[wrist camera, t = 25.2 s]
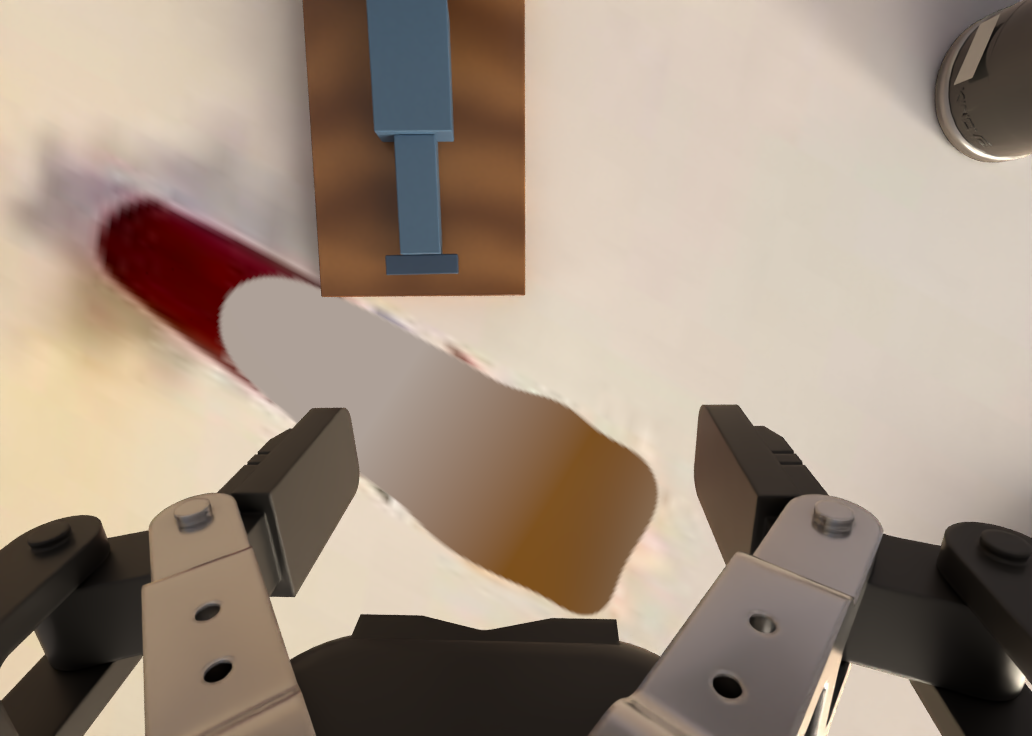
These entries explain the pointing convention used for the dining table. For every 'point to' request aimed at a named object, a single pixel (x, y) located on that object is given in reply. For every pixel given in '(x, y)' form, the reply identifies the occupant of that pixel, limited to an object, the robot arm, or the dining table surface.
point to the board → (462, 163)
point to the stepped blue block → (413, 121)
